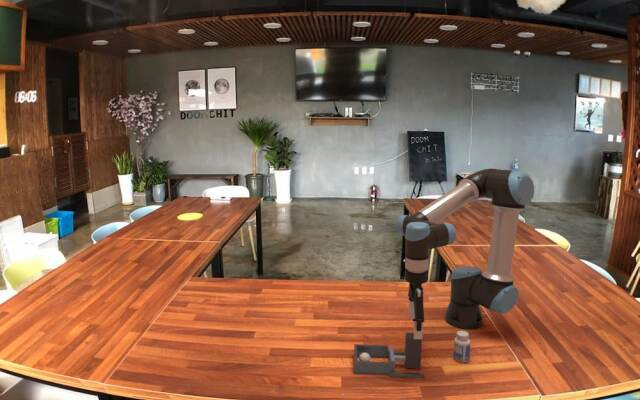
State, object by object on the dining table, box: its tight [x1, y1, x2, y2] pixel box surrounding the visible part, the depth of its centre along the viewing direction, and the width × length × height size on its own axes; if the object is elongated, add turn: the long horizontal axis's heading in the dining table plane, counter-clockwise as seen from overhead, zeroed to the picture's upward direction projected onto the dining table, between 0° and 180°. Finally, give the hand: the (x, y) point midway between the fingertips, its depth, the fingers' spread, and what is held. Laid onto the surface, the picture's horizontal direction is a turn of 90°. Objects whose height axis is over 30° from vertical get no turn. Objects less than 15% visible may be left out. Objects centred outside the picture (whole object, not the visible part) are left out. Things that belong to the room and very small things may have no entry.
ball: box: [358, 353, 371, 362], centre depth 153 cm, size 4×4×4 cm
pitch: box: [353, 343, 425, 379], centre depth 153 cm, size 23×14×4 cm, turn 86°
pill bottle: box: [453, 330, 471, 363], centre depth 156 cm, size 6×5×10 cm
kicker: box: [388, 332, 423, 372], centre depth 152 cm, size 10×9×11 cm
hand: (415, 328), depth 150 cm, fingers open, 13 cm apart
